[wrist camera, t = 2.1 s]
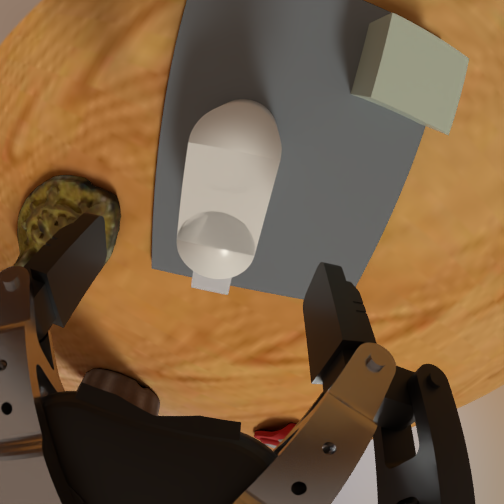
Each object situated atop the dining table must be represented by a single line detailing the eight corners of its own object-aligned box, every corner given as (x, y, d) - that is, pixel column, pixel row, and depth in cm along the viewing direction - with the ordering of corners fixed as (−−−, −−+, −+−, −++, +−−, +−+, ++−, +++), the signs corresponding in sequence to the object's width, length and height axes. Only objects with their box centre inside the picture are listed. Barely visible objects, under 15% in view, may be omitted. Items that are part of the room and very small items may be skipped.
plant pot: (185, 420, 40) (170, 507, 26) (103, 404, 41) (80, 479, 27) (154, 367, 31) (122, 490, 17) (58, 350, 32) (16, 441, 18)
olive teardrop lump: (93, 138, 18) (12, 222, 22) (53, 148, 14) (-17, 241, 18) (151, 239, 21) (56, 292, 25) (124, 270, 17) (32, 319, 21)
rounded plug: (216, 93, 14) (195, 97, 10) (284, 107, 15) (292, 116, 11) (190, 255, 21) (172, 302, 17) (243, 266, 21) (237, 316, 17)
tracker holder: (247, 442, 42) (258, 438, 35) (255, 421, 45) (267, 413, 38) (309, 459, 41) (332, 456, 34) (315, 438, 44) (338, 432, 37)
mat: (199, -31, 10) (197, -34, 10) (442, 44, 11) (447, 44, 11) (154, 263, 22) (151, 268, 22) (343, 301, 23) (344, 306, 23)
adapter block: (369, 23, 11) (392, 12, 8) (437, 58, 12) (469, 58, 9) (350, 94, 14) (370, 97, 11) (419, 123, 14) (448, 135, 11)
